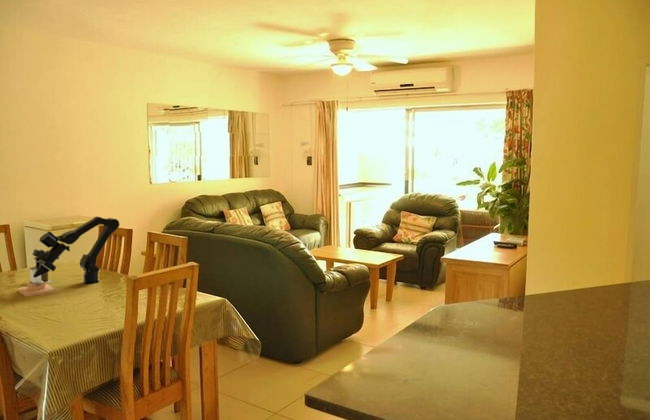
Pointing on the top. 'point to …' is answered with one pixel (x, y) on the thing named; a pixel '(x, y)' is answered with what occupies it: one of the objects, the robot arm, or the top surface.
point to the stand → (36, 289)
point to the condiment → (45, 277)
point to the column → (32, 273)
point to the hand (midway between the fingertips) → (32, 276)
